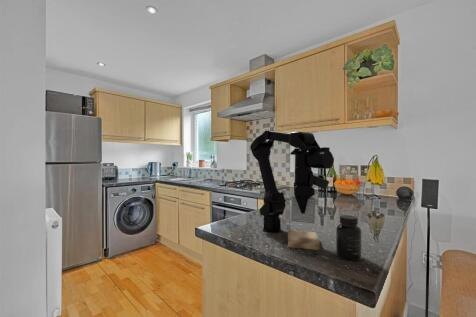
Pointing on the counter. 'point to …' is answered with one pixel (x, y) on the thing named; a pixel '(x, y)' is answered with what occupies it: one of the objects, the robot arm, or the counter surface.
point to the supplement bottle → (348, 238)
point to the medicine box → (309, 212)
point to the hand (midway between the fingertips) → (302, 211)
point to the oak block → (303, 240)
